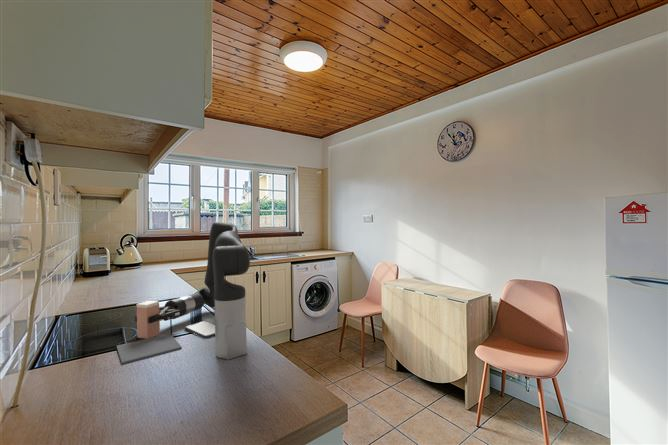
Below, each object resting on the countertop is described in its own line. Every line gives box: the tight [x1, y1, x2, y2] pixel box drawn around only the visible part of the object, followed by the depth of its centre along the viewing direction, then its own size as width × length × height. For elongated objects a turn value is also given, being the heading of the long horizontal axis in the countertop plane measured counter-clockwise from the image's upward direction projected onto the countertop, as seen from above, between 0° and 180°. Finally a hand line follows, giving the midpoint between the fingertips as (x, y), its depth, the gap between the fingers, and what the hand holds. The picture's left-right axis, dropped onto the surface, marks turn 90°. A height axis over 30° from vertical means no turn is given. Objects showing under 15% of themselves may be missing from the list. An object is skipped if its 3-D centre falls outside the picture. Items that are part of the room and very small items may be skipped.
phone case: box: [184, 320, 215, 339], centre depth 116 cm, size 9×2×16 cm
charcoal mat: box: [116, 333, 183, 365], centre depth 101 cm, size 16×16×1 cm
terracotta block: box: [136, 300, 161, 339], centre depth 112 cm, size 5×5×12 cm
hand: (142, 319), depth 110 cm, fingers open, 6 cm apart
